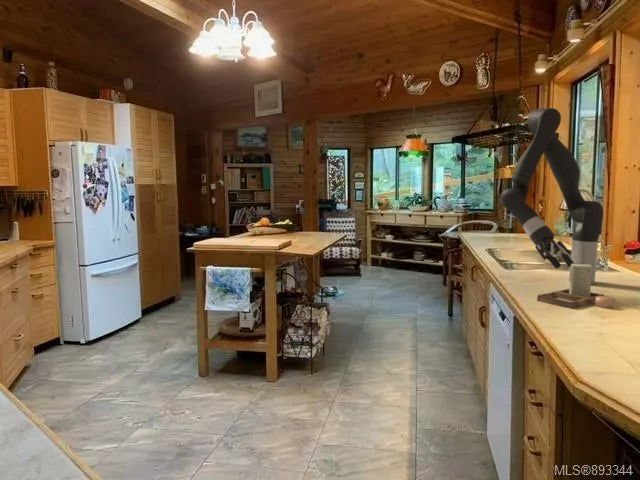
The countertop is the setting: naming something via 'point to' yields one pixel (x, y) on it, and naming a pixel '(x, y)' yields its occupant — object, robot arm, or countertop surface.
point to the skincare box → (580, 279)
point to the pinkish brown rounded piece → (603, 302)
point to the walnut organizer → (567, 299)
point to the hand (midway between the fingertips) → (565, 266)
